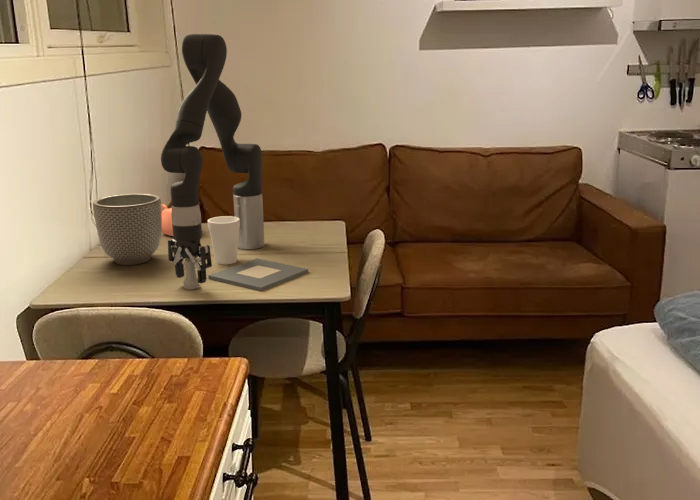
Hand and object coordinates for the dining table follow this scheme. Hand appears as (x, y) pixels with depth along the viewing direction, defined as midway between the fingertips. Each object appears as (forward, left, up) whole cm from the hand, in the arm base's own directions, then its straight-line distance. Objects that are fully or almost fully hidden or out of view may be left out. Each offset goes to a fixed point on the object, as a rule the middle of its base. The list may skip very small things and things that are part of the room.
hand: (191, 279), depth 197 cm
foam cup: (-10, +23, -2) cm, 25 cm away
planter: (-35, +8, -2) cm, 36 cm away
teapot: (-49, +39, -3) cm, 63 cm away
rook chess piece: (0, 0, -2) cm, 2 cm away
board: (+8, +18, -2) cm, 20 cm away
